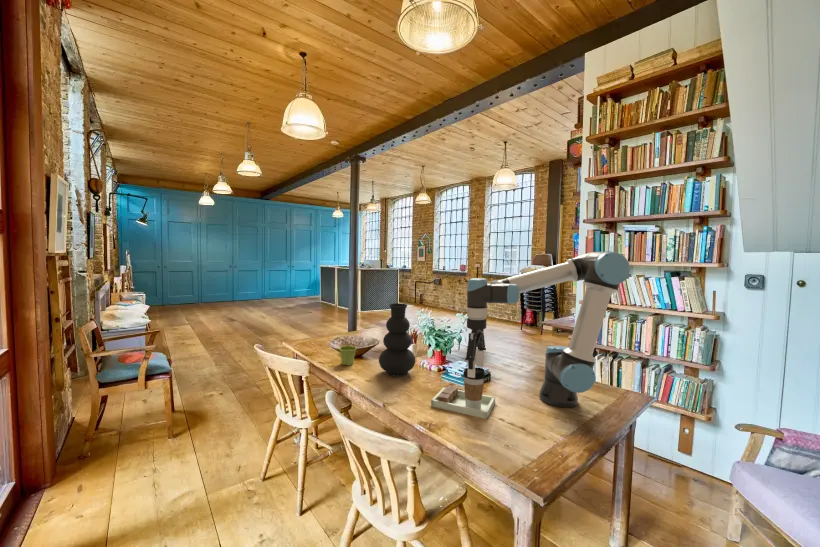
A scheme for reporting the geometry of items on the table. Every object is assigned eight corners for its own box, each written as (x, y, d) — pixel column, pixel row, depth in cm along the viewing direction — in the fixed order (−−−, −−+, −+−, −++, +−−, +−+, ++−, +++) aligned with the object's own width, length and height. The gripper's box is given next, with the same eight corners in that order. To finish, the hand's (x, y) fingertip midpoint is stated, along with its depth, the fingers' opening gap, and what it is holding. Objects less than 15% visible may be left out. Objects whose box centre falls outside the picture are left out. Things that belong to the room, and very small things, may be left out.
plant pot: (350, 360, 195) (351, 344, 195) (359, 364, 188) (359, 348, 187) (335, 363, 189) (335, 347, 189) (344, 367, 182) (344, 351, 181)
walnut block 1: (449, 404, 140) (450, 394, 139) (447, 408, 136) (447, 398, 136) (440, 402, 141) (440, 392, 141) (437, 406, 137) (437, 396, 137)
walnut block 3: (457, 396, 147) (457, 387, 147) (454, 400, 144) (454, 390, 143) (448, 394, 149) (448, 385, 149) (445, 398, 145) (445, 388, 145)
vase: (402, 382, 163) (404, 309, 161) (371, 375, 172) (372, 305, 170) (421, 371, 179) (423, 304, 177) (391, 365, 188) (392, 300, 186)
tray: (494, 405, 142) (495, 397, 141) (486, 421, 128) (486, 412, 128) (443, 394, 151) (444, 386, 151) (431, 408, 137) (431, 400, 137)
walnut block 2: (453, 399, 144) (453, 390, 143) (450, 403, 140) (450, 393, 140) (444, 397, 145) (444, 388, 145) (441, 401, 142) (441, 392, 141)
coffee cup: (484, 412, 133) (485, 373, 132) (461, 410, 135) (462, 372, 134) (483, 403, 141) (484, 366, 140) (462, 401, 143) (463, 365, 142)
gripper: (475, 312, 148) (474, 361, 150) (457, 323, 126) (457, 380, 127) (493, 313, 145) (492, 363, 146) (478, 325, 123) (477, 384, 124)
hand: (475, 371), depth 137 cm, fingers open, 13 cm apart
